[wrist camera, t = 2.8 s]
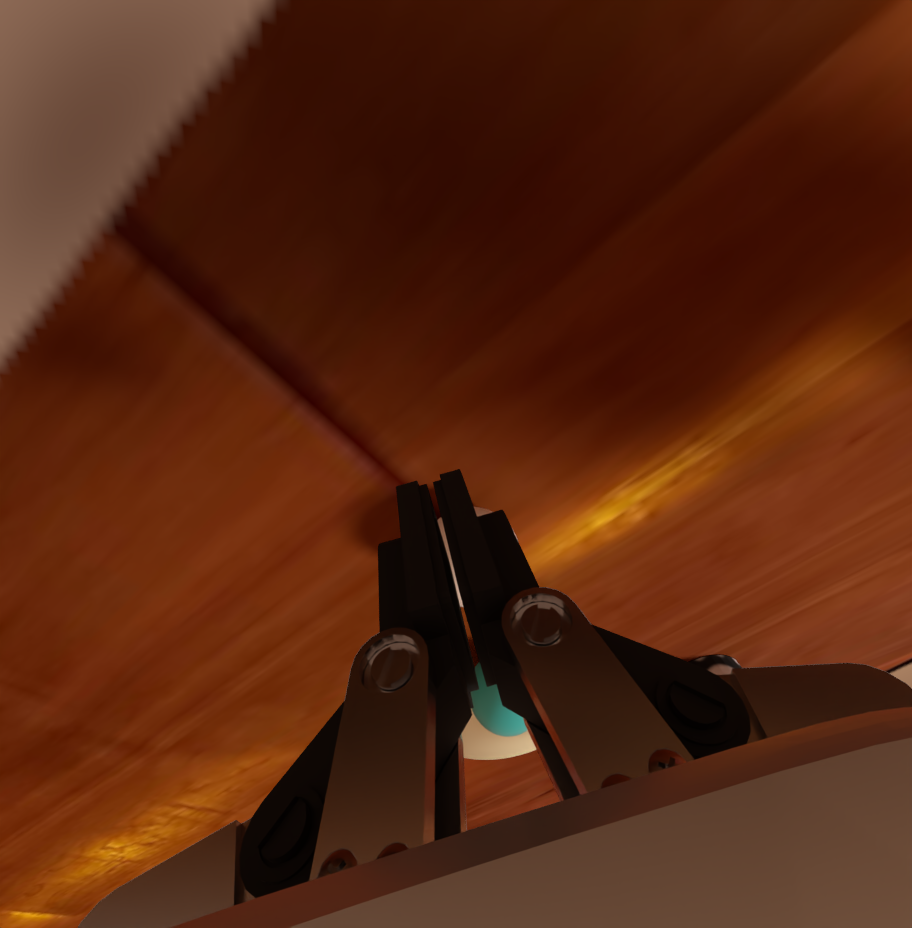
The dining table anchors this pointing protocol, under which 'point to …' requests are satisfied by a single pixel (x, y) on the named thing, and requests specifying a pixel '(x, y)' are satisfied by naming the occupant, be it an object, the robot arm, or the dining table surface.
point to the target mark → (492, 743)
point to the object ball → (494, 710)
